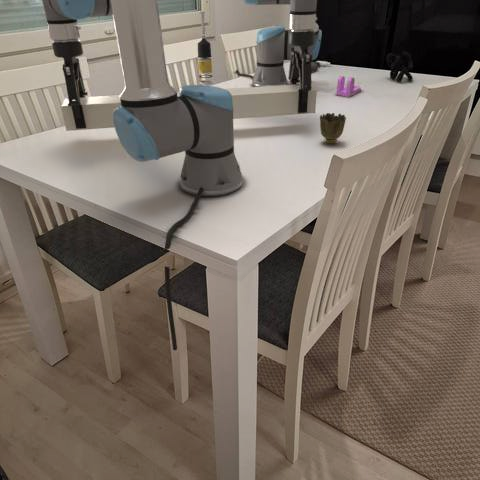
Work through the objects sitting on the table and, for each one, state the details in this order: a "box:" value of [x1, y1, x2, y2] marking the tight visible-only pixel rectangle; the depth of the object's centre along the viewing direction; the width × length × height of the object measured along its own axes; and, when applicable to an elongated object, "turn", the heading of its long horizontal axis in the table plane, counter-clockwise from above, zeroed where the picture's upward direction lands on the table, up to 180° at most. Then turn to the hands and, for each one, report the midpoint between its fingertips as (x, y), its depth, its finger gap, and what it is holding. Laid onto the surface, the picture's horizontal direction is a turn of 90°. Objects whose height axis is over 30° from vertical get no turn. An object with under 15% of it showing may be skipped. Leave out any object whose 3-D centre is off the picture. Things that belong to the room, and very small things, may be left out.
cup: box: [319, 112, 347, 145], centre depth 131 cm, size 8×7×8 cm
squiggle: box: [385, 51, 414, 83], centre depth 198 cm, size 11×10×15 cm
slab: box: [60, 83, 318, 132], centre depth 135 cm, size 75×9×7 cm, turn 100°
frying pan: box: [311, 60, 331, 73], centre depth 223 cm, size 3×11×24 cm
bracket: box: [335, 75, 362, 98], centre depth 181 cm, size 13×6×7 cm, turn 143°
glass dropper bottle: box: [197, 11, 214, 86], centre depth 181 cm, size 6×6×30 cm
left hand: (83, 123), depth 132 cm, fingers closed on slab, 9 cm apart
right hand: (298, 108), depth 141 cm, fingers closed on slab, 9 cm apart
